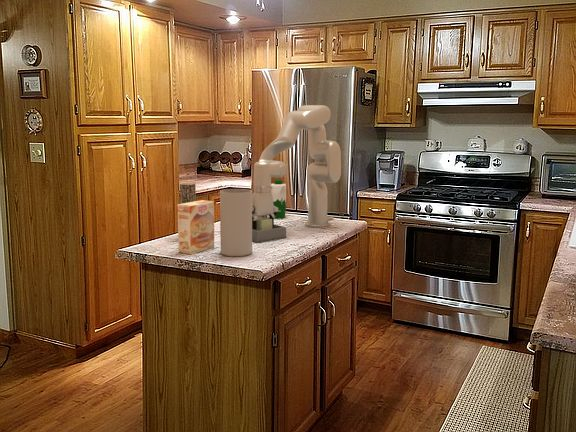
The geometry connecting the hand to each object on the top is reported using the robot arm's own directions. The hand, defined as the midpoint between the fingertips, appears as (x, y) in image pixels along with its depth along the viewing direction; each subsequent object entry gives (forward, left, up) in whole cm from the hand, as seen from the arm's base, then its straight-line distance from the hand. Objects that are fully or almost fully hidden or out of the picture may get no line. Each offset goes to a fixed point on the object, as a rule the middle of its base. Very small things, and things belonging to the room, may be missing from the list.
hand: (262, 227), depth 255 cm
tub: (0, 0, -5) cm, 5 cm away
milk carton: (-39, -36, -5) cm, 53 cm away
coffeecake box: (+35, +1, -5) cm, 35 cm away
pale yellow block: (0, 0, -4) cm, 4 cm away
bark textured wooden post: (+26, -20, -5) cm, 33 cm away
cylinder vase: (+26, +16, -5) cm, 31 cm away
